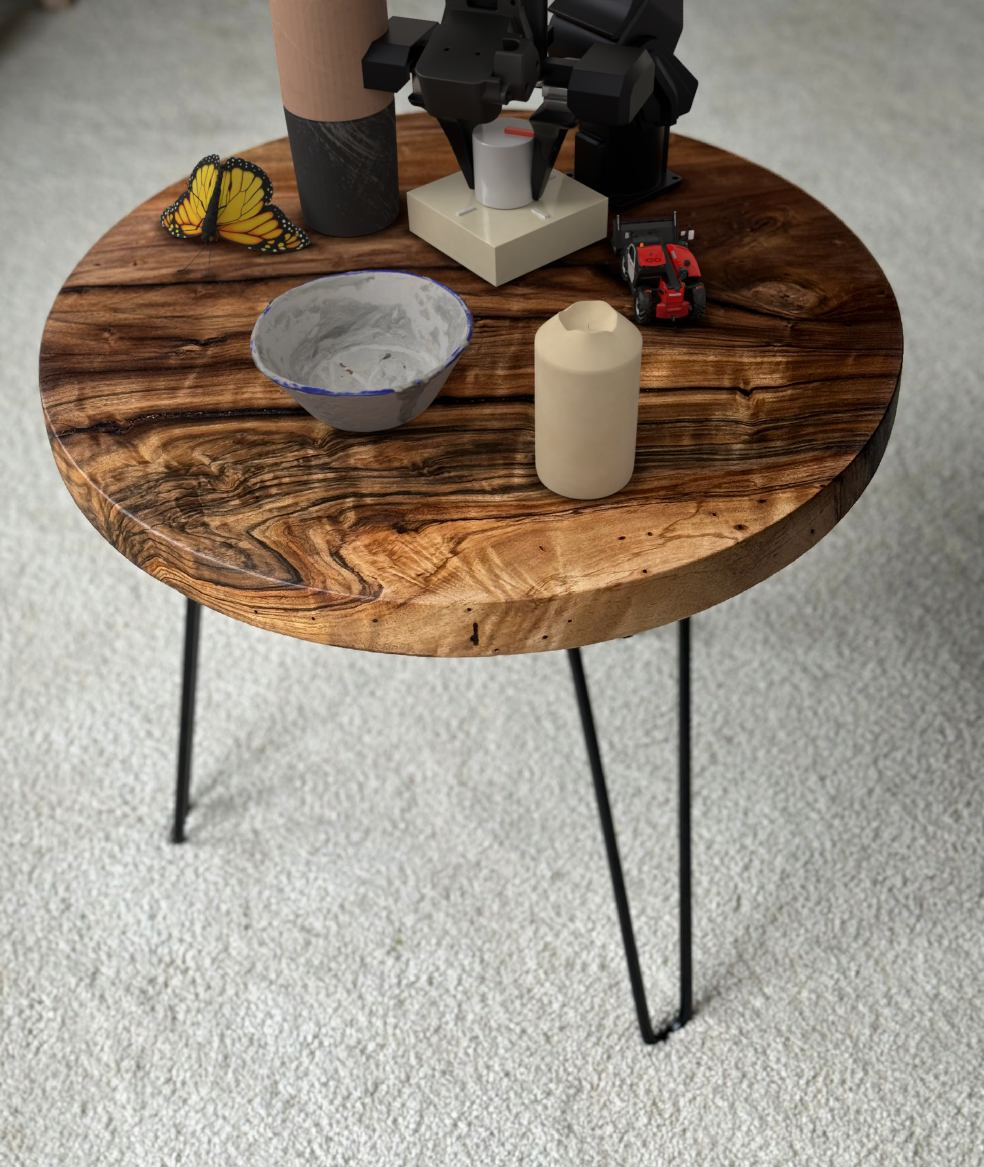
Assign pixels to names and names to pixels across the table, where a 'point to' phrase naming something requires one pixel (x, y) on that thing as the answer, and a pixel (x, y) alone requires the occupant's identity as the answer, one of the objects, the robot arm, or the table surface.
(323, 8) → the travel mug
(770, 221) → the table surface
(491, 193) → the tap knob
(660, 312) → the loader
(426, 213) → the plate
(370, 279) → the bowl
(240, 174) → the butterfly
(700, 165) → the table surface
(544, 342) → the candle
